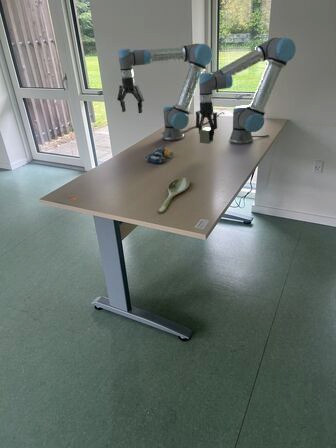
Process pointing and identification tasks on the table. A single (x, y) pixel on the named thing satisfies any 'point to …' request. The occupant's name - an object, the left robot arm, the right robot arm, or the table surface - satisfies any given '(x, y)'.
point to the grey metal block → (205, 135)
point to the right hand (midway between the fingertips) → (206, 139)
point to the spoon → (175, 190)
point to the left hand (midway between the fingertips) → (132, 112)
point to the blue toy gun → (159, 155)
